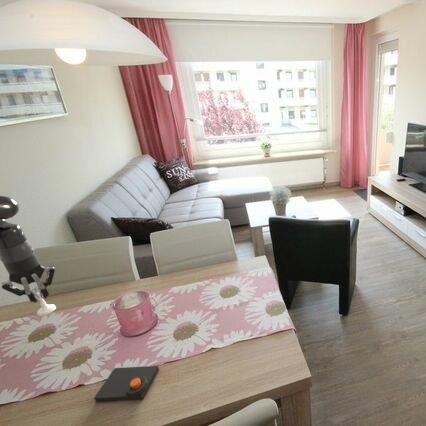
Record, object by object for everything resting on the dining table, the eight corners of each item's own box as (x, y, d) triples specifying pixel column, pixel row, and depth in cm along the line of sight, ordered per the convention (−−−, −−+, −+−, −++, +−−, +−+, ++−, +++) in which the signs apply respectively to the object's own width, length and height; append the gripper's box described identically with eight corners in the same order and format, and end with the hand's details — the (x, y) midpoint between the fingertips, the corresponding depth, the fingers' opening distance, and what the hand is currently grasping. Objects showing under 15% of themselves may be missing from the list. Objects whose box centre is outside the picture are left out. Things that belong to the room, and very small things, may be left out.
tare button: (138, 389, 87) (136, 385, 86) (129, 389, 87) (128, 386, 86) (143, 381, 89) (141, 377, 89) (134, 381, 89) (132, 378, 89)
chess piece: (44, 306, 104) (32, 283, 100) (59, 305, 104) (47, 282, 100) (33, 316, 99) (20, 292, 95) (49, 314, 100) (37, 291, 96)
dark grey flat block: (143, 400, 87) (140, 392, 85) (95, 403, 87) (91, 395, 85) (159, 369, 96) (157, 362, 95) (116, 371, 96) (112, 364, 95)
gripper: (44, 243, 100) (64, 285, 107) (-14, 261, 91) (12, 305, 97) (48, 251, 95) (68, 293, 102) (-13, 269, 86) (13, 315, 93)
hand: (40, 299), depth 100 cm, fingers closed on chess piece
